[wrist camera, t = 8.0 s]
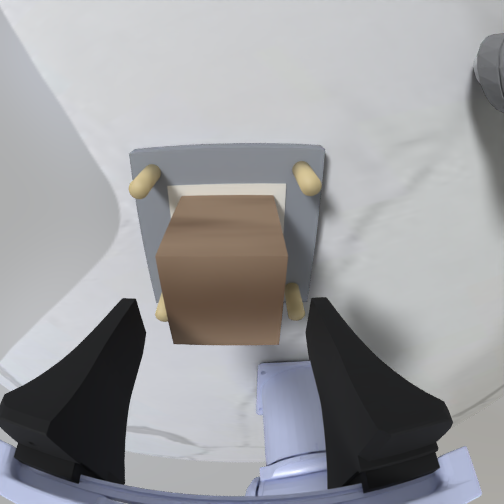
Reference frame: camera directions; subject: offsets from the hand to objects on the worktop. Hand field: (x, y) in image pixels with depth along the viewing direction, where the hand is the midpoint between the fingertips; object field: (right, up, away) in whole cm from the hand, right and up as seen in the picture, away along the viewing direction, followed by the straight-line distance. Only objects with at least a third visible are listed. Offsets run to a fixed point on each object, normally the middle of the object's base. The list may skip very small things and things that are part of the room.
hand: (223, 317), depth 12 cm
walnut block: (0, +4, +5) cm, 7 cm away
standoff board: (0, +4, +6) cm, 8 cm away
